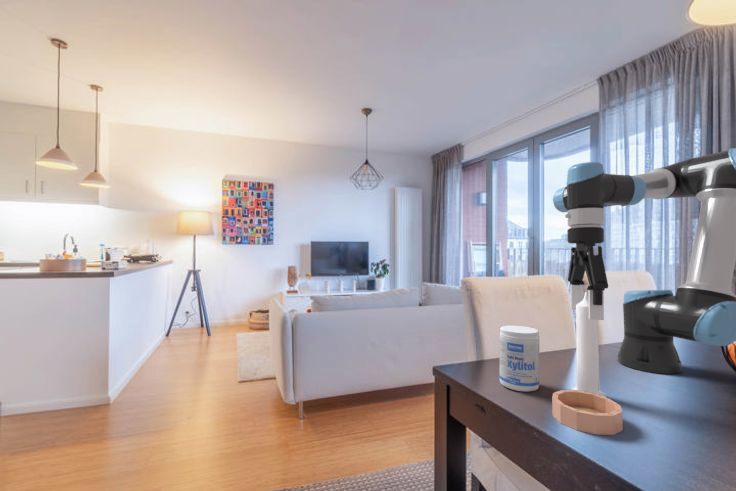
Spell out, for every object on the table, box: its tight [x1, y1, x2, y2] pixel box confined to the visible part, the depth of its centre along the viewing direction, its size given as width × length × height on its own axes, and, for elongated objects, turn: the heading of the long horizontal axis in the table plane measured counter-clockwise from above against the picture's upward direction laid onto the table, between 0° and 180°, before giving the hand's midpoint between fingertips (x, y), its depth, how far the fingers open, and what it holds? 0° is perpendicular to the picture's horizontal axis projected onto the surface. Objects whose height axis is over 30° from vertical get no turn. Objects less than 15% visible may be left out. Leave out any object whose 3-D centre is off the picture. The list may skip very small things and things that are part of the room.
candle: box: [570, 291, 607, 398], centre depth 83 cm, size 7×7×25 cm
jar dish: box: [551, 389, 624, 436], centre depth 71 cm, size 12×12×4 cm
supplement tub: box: [498, 325, 540, 393], centre depth 89 cm, size 10×10×15 cm
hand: (585, 314), depth 83 cm, fingers open, 13 cm apart
